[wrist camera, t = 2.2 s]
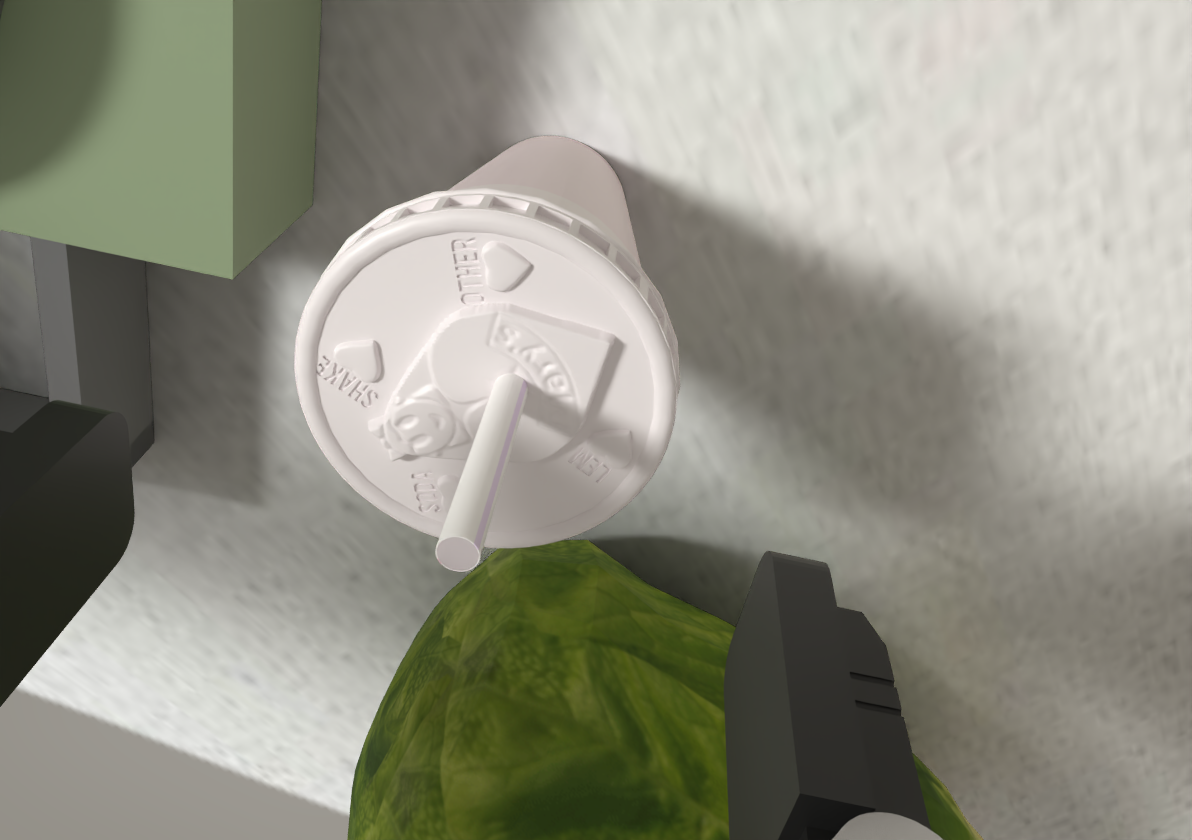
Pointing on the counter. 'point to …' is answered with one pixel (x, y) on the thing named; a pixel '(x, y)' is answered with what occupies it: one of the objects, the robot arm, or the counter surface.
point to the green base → (145, 167)
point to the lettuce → (561, 713)
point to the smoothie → (494, 356)
